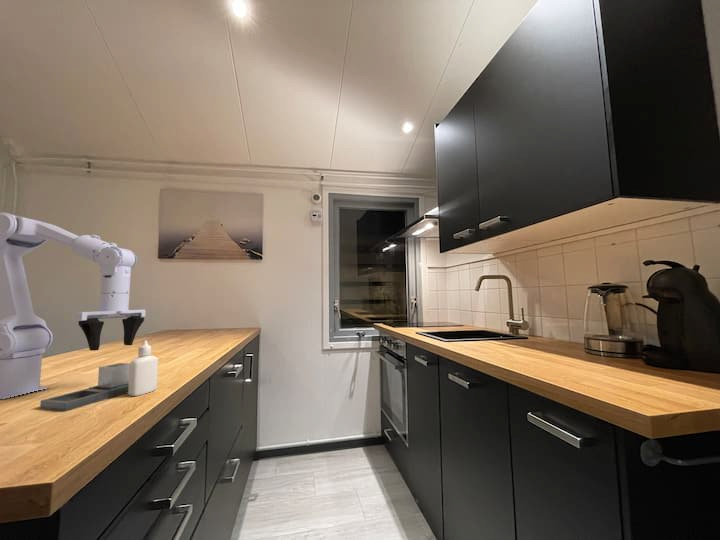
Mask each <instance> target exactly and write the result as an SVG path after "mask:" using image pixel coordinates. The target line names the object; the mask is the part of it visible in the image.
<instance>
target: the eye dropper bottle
mask: <svg viewBox="0 0 720 540" xmlns="http://www.w3.org/2000/svg"><path fill="white" fill-rule="evenodd" d="M137 353H138V355H137V356H138V357H135V358H134V359H133V360H132V361H130V369H129V388H128V393H127V394H128V396H130V397H138V396H143V395H146V393H147V394H149V392H150V393H152V392H154V391H156V390H157V389H158V379H159V378H158V375H159V358H158V357H157V356H154V355H152V346H151V345H150V344H148V340H143V341H142V345H141V346H139V347H138V352H137Z"/></svg>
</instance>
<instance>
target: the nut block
mask: <svg viewBox="0 0 720 540" xmlns="http://www.w3.org/2000/svg"><path fill="white" fill-rule="evenodd" d="M130 363H131V362H130ZM130 363H128V362H117V363H114V364H113V363H112V364H107V365H103V366H99V367H98V378H97V385H98V389H103V390H110V389H113V388H117V387H120V386H124V385H128V384H129V369H130Z"/></svg>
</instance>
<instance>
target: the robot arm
mask: <svg viewBox="0 0 720 540" xmlns="http://www.w3.org/2000/svg"><path fill="white" fill-rule="evenodd" d="M51 241H52V242H53V241H54V242H56V243H59V244H61V245H64V246H67V247H70V248H71V250H72V252H73V254H75V255H77V256H78V257H82V258H84V259H87V260H89V261H92V262H94V263H96V264H97V265H98V267H99V269H100V271H99V272H100V274H101V279H100V280H101V281H100V283H101V284H100V293H99V294H100V295H99V310H98V311H79V312H78V311H77V312H76V316H75V317H76V318H75V320H76V322H77V321H78V327H80V328H81V330H82V332H83V333H84V336H85V338H86V341H87V344H88V349H89V351H95V352H96V351H99V350H100V345H101V334H102V329H103V327H104V323H105V321H103V320H108V319H110V320H111V319H121V322H122V325H123V345H124V346H133V343H134V341H135V337H136V334H137V332H138V331H139V329H140V327H141V326H142V325H143V323H144V322H145V317H146V309H130V308H129V306H130V292H131V291H130V290H131V275H132V272H131V271H132V269H133V268H134V267H135V266H136V265H137V261H138V259H137V258H138V257H137V255H136V253H135V252H134V251H131V249H130V248H129V249H128V248H121V247H118V244H117V243H115V242H108V241H105V240H102V239H101V237H100V236H99V235H96V234H90V235H89V234H83V235H80V236H79V235H77V234H75V233H73V232H71V231H68V230H66V229H64V228H62V227H59V226H58V225H55V224H52V223H49V222H44V221H40V220H37V219H32V218H27V217H24V216H19V215H14V214H12V213H10V212H4V211H3V212H0V400H6V398H7V399H10V397H11V398H15V397H18V395H20V396H23V395H22V394H24V395H27V394H26V393H28V394H31V393H30V392H33V393H35V392H34V391H37V392H39V391H38V390H41V391H44V390H43V389H45V390H48V389H47V388H50V387H49V386H43V385H41V377H42V376H41V375H42V363H43V361H42V360H43V354H44V353H46V349H48V348H49V347H50V346H51V344H52V342H53V339H54V336H53V332H52V331H51V330H50V329H49V328H48V326H47V322H46V321H45V319H42V318H41V317H39V316H37V315H36V314H35V312H34V307H33V303H32V299H31V298H32V297H31V293H30V288H29V285H28V281H27V276H26V270H25V266H24V262H23V257H24V255H27V254H29V253H32V252H33V251H35V250H36V249H37V248H39V247H41V246H42V245H44V244H45V243H46V242H51ZM110 315H113V316H110ZM114 315H115V316H114ZM101 320H102V321H101ZM14 396H15V397H14Z"/></svg>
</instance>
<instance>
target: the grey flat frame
mask: <svg viewBox="0 0 720 540" xmlns="http://www.w3.org/2000/svg"><path fill="white" fill-rule="evenodd" d="M128 388H129V384H128V385H124V386H120V387H117V388H113V389H110V390H103V389H98V384H97V385H95V386H94V385H93V386H89V387H87V388H83V389H80V390H76V391H71V392H68V393H64V394H60V395H57V396H56V395H55V396H53V397H48V398H45V399H42V400H40V403H39V404H40V405H39V406H40V407H39V408H40V409H45V410H53V411H60V412H67V411H71V410H75V409H78V408H81V407H85V406H87V405H91V404H94V403H97V402H101V401H104V400H108V399H111V398H115V397H118V396H120V395H124V394H128V393H127V392H128ZM117 395H118V396H117ZM114 396H115V397H114Z"/></svg>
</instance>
